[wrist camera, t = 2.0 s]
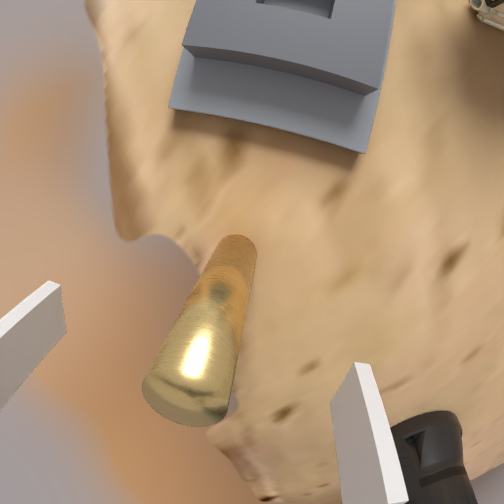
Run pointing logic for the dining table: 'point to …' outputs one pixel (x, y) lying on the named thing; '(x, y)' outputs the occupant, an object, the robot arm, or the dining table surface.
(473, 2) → the pneumatic valve
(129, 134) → the dining table surface
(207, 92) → the grey socket base
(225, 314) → the brass pin
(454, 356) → the dining table surface
